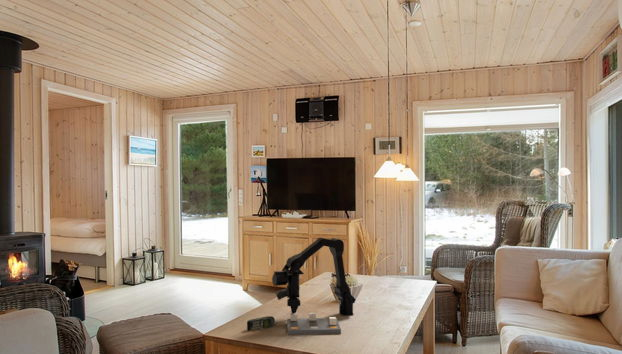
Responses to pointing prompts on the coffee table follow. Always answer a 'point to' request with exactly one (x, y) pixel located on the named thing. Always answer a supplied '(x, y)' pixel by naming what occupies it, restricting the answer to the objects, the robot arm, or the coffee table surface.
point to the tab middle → (312, 316)
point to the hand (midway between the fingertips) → (293, 315)
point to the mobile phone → (260, 323)
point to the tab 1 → (293, 316)
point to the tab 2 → (332, 320)
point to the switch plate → (312, 327)
